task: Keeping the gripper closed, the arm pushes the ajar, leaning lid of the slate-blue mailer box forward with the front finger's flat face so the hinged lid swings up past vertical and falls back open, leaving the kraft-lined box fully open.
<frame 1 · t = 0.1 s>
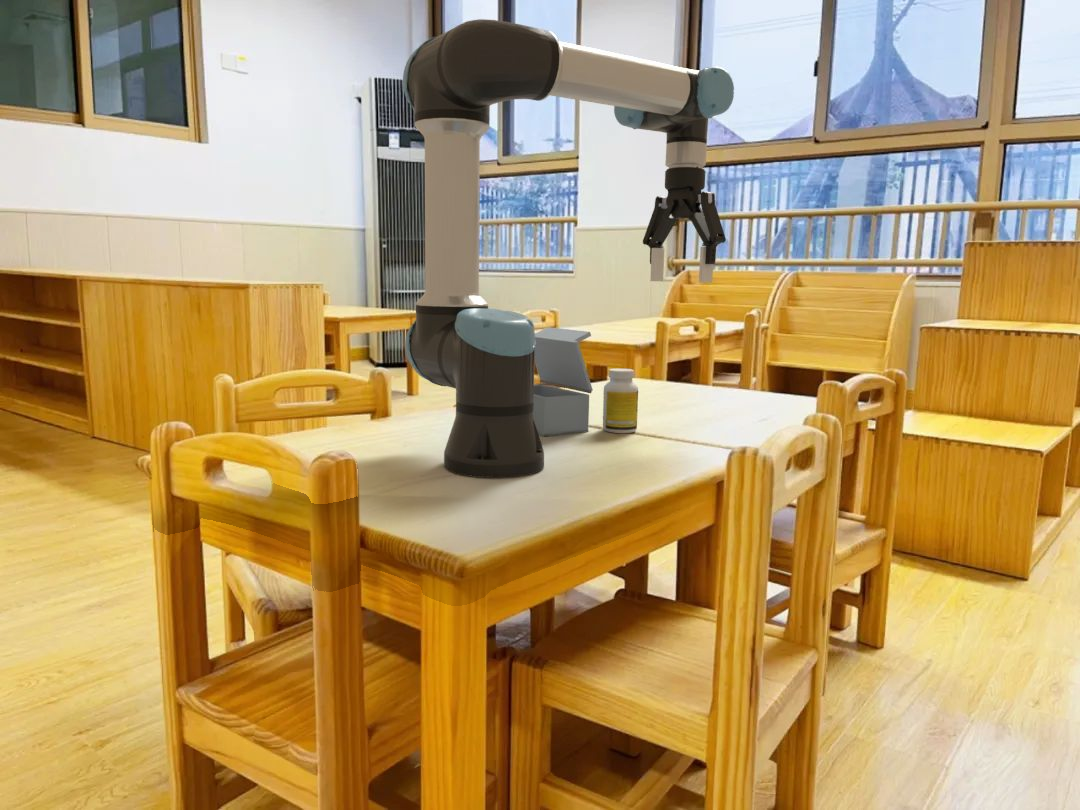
hand: (680, 282, 156), 28 cm above the table, fingers open, 13 cm apart
pill bottle: (619, 431, 153), on the table
lid: (565, 358, 156), point 13 cm above the table, hinge at 68.0°
mailer box: (542, 426, 156), on the table
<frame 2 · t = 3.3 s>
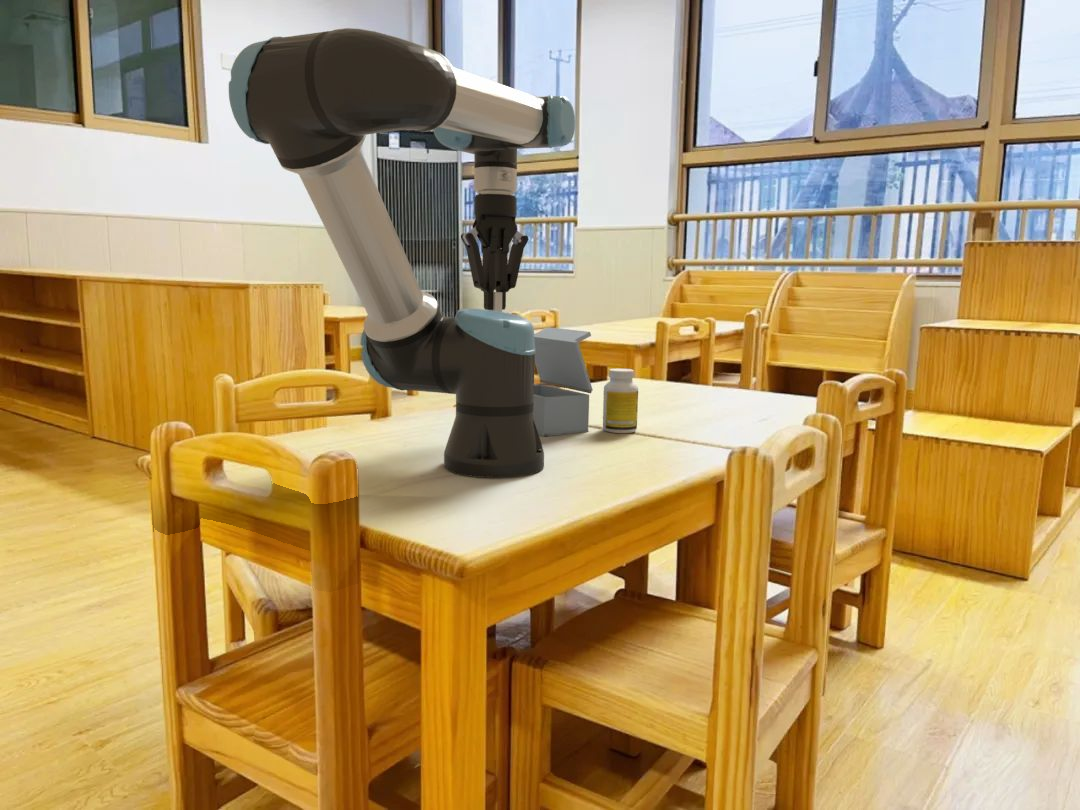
hand: (494, 328, 147), 19 cm above the table, fingers closed
nothing on the table moved.
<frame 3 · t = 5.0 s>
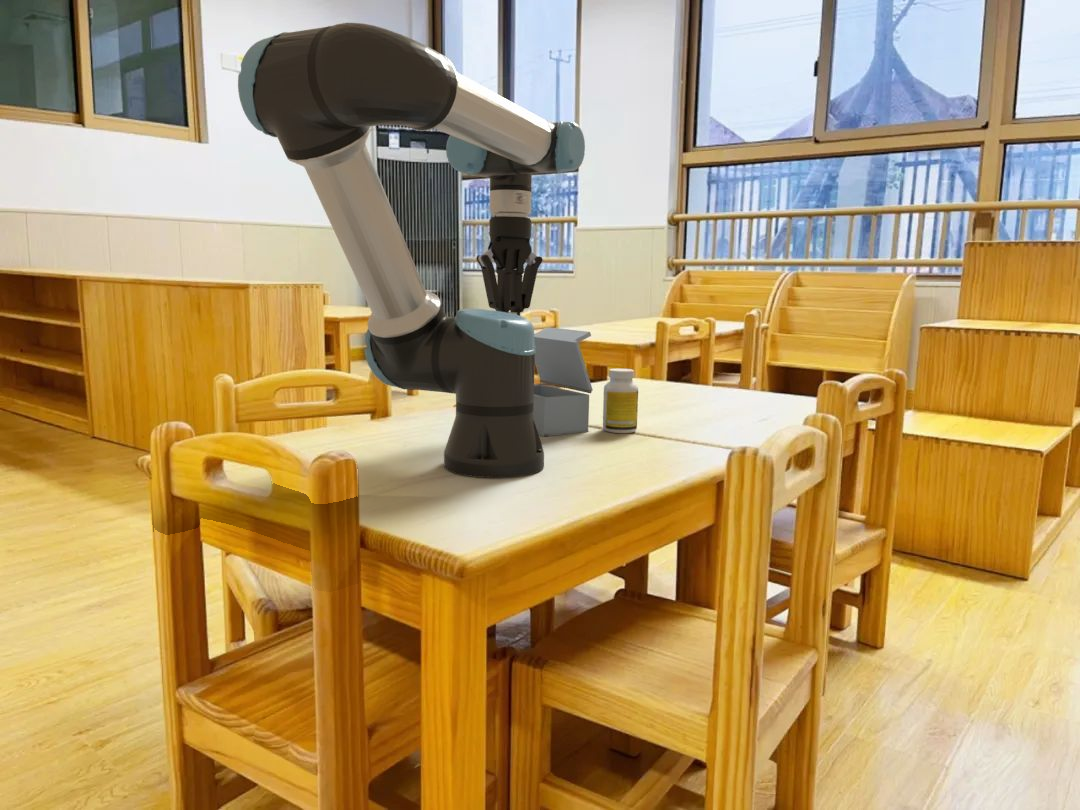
hand: (509, 347, 149), 16 cm above the table, fingers closed
nothing on the table moved.
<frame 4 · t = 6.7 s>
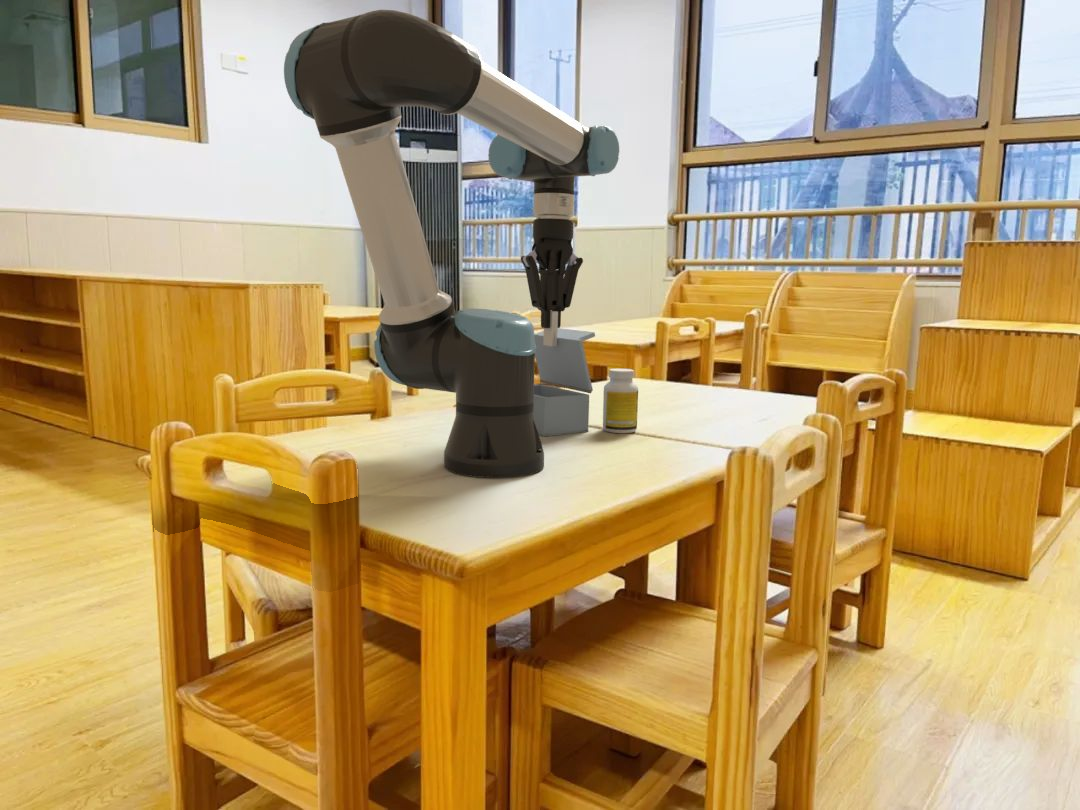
hand: (550, 345, 154), 16 cm above the table, fingers closed
lid: (568, 359, 157), point 13 cm above the table, hinge at 73.5°, touching gripper
everything else where it was.
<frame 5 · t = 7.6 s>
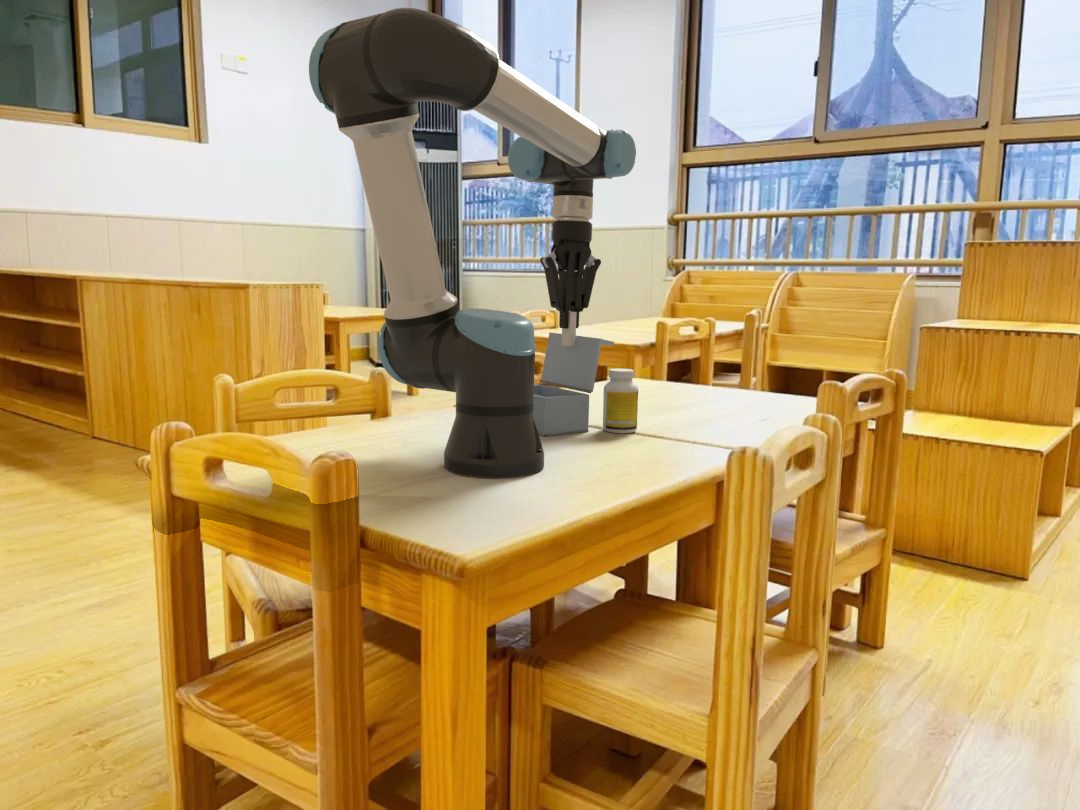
hand: (568, 345, 156), 15 cm above the table, fingers closed
lid: (577, 363, 158), point 12 cm above the table, hinge at 100.7°, touching gripper
everything else where it was.
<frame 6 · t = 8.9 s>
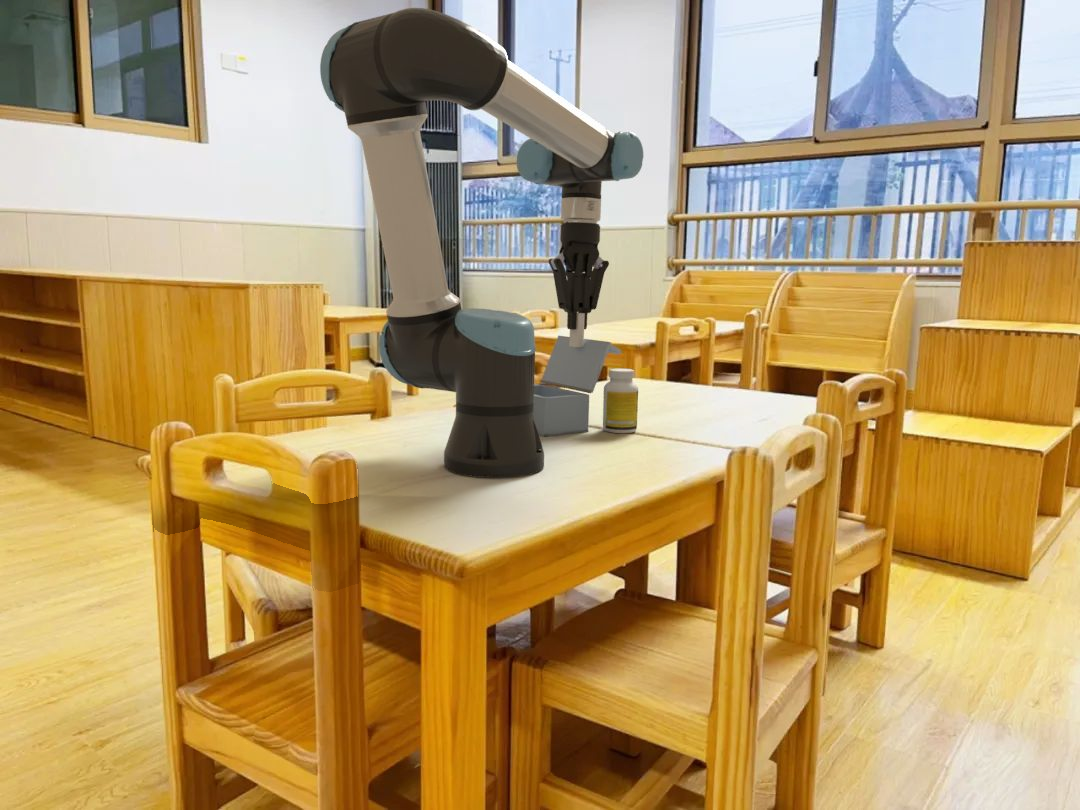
hand: (576, 346, 157), 15 cm above the table, fingers closed
lid: (581, 367, 159), point 11 cm above the table, hinge at 114.0°, touching gripper
everything else where it was.
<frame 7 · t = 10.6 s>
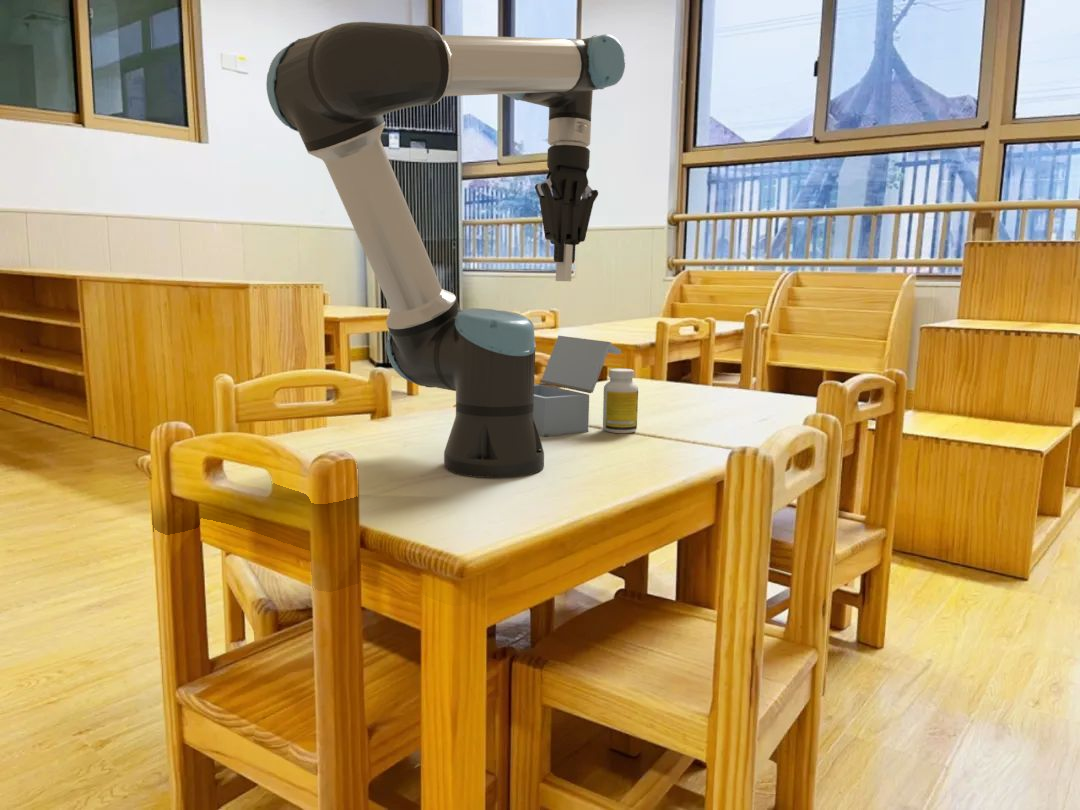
hand: (563, 281, 147), 28 cm above the table, fingers closed
lid: (581, 367, 159), point 11 cm above the table, hinge at 114.0°
everything else where it was.
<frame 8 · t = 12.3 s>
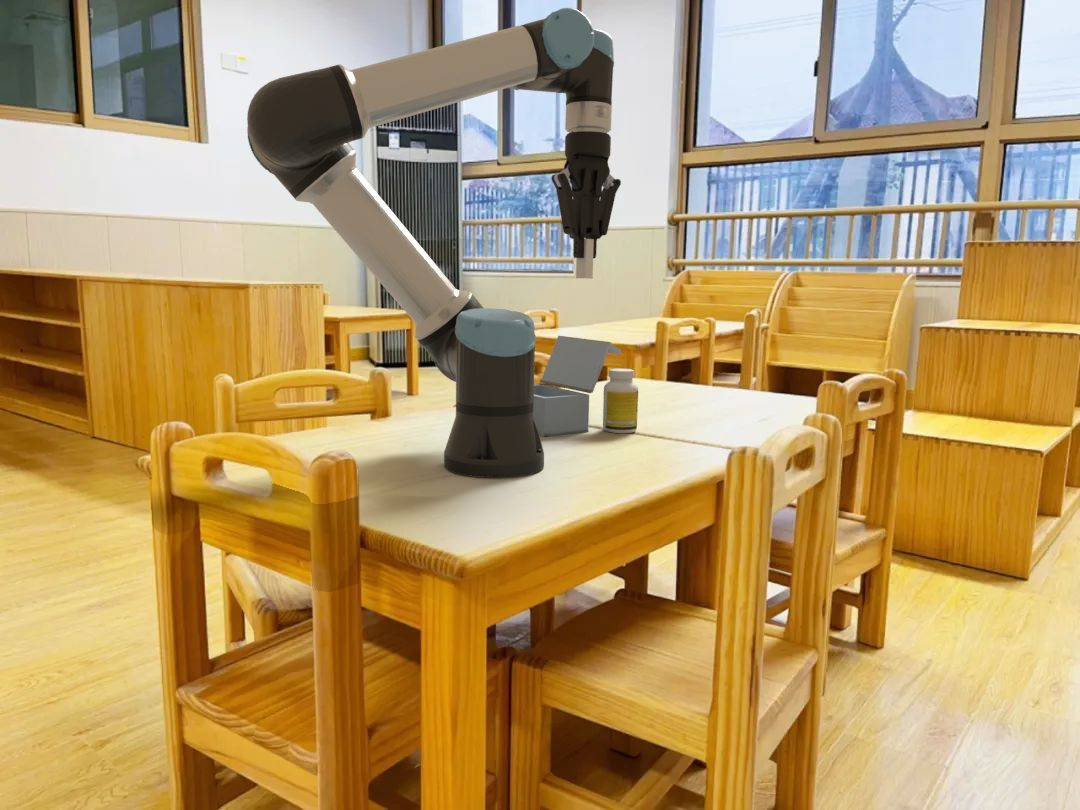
hand: (584, 278, 137), 28 cm above the table, fingers closed
nothing on the table moved.
at the end: lid at +114° (first picture: +68°); the gripper is holding nothing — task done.
